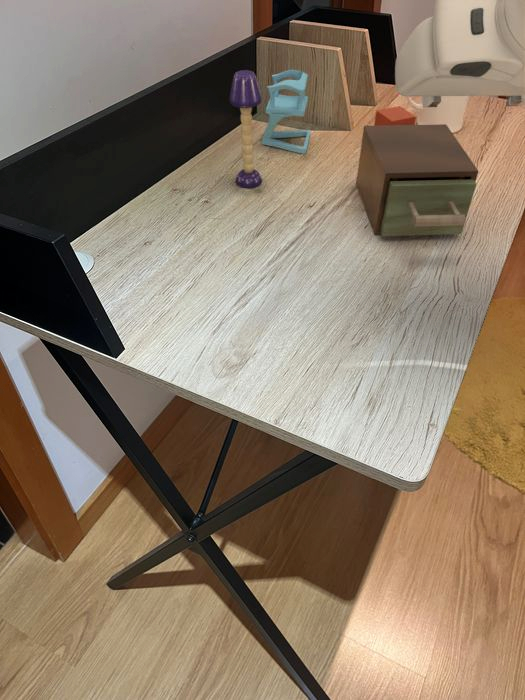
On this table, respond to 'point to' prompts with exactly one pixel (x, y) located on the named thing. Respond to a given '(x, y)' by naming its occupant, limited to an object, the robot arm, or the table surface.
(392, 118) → the block
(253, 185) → the toy lamp
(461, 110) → the mug
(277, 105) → the chair
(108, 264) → the table surface
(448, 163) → the cabinet
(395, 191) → the drawer
